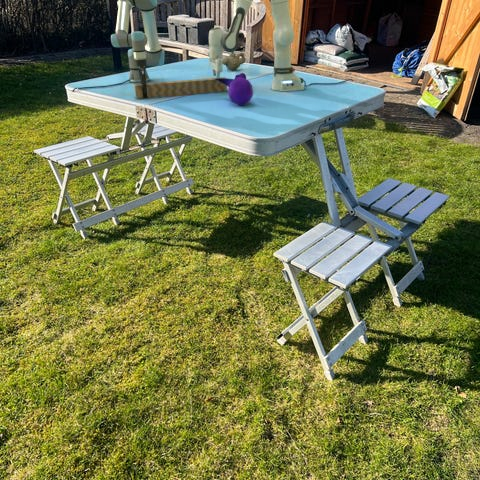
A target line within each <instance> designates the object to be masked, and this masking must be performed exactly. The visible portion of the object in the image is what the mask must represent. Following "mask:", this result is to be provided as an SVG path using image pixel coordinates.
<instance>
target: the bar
mask: <svg viewBox="0 0 480 480" xmlns="http://www.w3.org/2000/svg"><path fill="white" fill-rule="evenodd" d="M216 78H217V77H209V78H195V79H194V78H193V79H181V80H170V81H169V80H168V81H158V82H146V85H147V96H148V98H143V91H142V88H141V87H142V84H140V83H133V86H134V94H135V99H136V100H146V99H155V98H157V99H158V98H166V97H167V98H168V97H178V96H179V97H181V96H188V95H189V96H190V95H203V94H214V93H224V92H227V93H228V86H227V85H225V84H223V83H221V82H219V81H218V80H216ZM220 78H226V76H220Z"/></svg>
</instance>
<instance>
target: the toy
mask: <svg viewBox="0 0 480 480" xmlns="http://www.w3.org/2000/svg"><path fill="white" fill-rule="evenodd" d="M215 78H216V80H218V81H219V82H221V83H223V84H225V85H227V93H228V97H229V100H230V101H231V102H232V103H233V104H235V105H238V106H243V105H247V104H248V103H249V102H250V101H251V100H252V98H253V96H254V88H253V84H252V83H251V81H250V80H249V79H247V75H246V74H245V73H243V72H241V73H238V74H236V75H235V76H234V78H227V77H225V78H217V77H215Z"/></svg>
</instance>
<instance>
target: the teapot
mask: <svg viewBox="0 0 480 480" xmlns="http://www.w3.org/2000/svg"><path fill="white" fill-rule="evenodd" d="M240 58H241V59H240ZM221 60H222V65H224V66H225V67H226V69H227V70H228V71H236V70H238V69H239V68H240V67H241V65H243V64H244V63H245V62H246V56H245V54H244V52H242V51H241V52H239V53H238V54H236V53H235V51H234V52H230V53H229V56H225V57H223V58H221Z"/></svg>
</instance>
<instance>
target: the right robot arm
mask: <svg viewBox="0 0 480 480" xmlns="http://www.w3.org/2000/svg"><path fill="white" fill-rule="evenodd" d="M253 1H254V0H233V4H232V11H233V13H232V14H233V15H232V21H231V23H230V27H229V30H228V31H227V30H224V29H223V28H221V27H219V26H218V27H213V28H211V29H210V30H209V32H208V45H209V47H208V53H207V56H208V59H209V61H208V62H209V67H210V69H212V76H213V77H216V78H220V77H221V73H223V69H224V67H223V64H222V59H223V58H224V54H223V50H224V52H227V53H231V52H234V53H235V52H236V50H237V49H238V47H239V34H240V32H241V28H242V25H243V22H244V20H245V18H246V16H247V15H248V13H249V11H250V9H251V7H252V5H253ZM270 8H271V9H270V10H271V16H272V17H271V18H272V21H273V25H274V29H273V32H272V36H273V37H272V42H273V53H274V56H273V57H274V60H273V61H274V62H273V63H274V64H273V70H272V71H273V72H272V75H273V80H272V85H271V90H273V91H277V92H278V91H280V92H295V91H304V90H305V88H306V87H308V86H312V85H339V84H343V83H345V82H348V81H352V82H354V79H352V78H349V79H346V80H342V81H339V82H329V83H327V82H312V83H310V84H308V85H306V80H304V78H302V77H300V76H298V75H297V74H296V73H294V72H296V68H295V67H293V66H292V51H291V44H293V43H294V41H295V32H294V26H293V22H292V17H291V11H290V4H289V0H270ZM303 83H304V84H303ZM302 84H303V85H302Z"/></svg>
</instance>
